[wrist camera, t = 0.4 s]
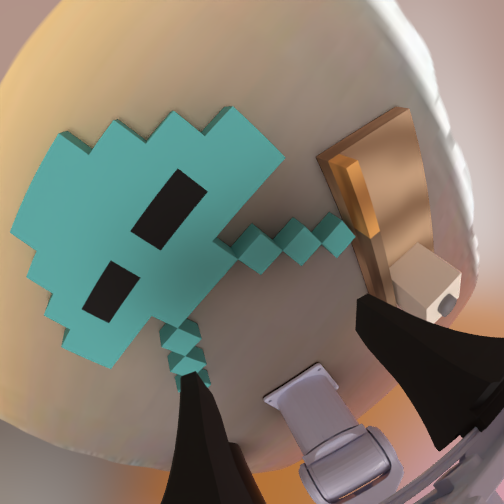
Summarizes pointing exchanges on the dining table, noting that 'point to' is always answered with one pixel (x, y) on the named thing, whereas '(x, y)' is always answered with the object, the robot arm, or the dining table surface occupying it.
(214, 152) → the alien figure
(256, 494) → the water bottle
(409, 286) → the cream block with knob
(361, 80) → the dining table surface
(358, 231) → the board
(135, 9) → the dining table surface
